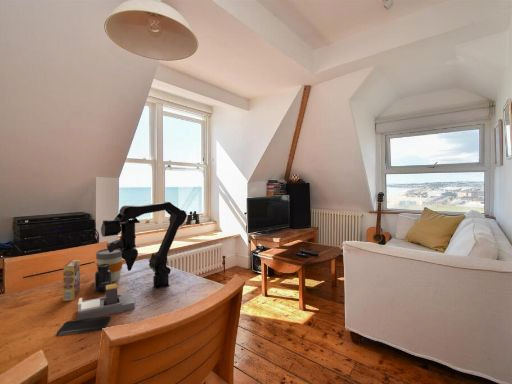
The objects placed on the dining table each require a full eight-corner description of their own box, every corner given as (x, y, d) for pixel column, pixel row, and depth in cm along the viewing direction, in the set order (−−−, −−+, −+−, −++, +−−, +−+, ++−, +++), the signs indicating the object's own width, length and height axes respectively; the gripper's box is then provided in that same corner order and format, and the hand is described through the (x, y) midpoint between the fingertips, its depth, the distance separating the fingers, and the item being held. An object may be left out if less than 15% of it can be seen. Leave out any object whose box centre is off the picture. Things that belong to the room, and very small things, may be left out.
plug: (117, 304, 107) (116, 283, 107) (117, 308, 104) (117, 286, 103) (106, 306, 105) (105, 285, 105) (106, 311, 102) (105, 288, 101)
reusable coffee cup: (91, 280, 132) (90, 251, 132) (115, 273, 143) (115, 246, 142) (104, 285, 126) (103, 255, 125) (128, 277, 136) (128, 250, 136)
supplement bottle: (103, 293, 117) (103, 268, 116) (91, 292, 118) (90, 266, 118) (115, 287, 124) (114, 263, 123) (102, 286, 125) (102, 262, 124)
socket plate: (132, 297, 113) (132, 291, 113) (134, 308, 104) (134, 301, 104) (80, 308, 103) (80, 300, 103) (77, 321, 94) (77, 313, 94)
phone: (105, 327, 89) (55, 333, 85) (105, 330, 89) (55, 336, 85) (112, 316, 97) (66, 321, 93) (112, 318, 97) (66, 324, 93)
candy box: (74, 300, 110) (74, 265, 110) (62, 301, 109) (62, 266, 108) (80, 291, 119) (80, 259, 118) (69, 293, 117) (69, 260, 117)
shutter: (100, 300, 105) (99, 294, 105) (99, 307, 99) (99, 300, 99) (79, 304, 102) (79, 297, 102) (77, 311, 96) (77, 305, 96)
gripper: (107, 231, 119) (107, 264, 120) (107, 239, 103) (108, 277, 104) (133, 229, 125) (133, 260, 126) (137, 236, 109) (138, 272, 110)
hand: (128, 267), depth 116 cm, fingers open, 9 cm apart
